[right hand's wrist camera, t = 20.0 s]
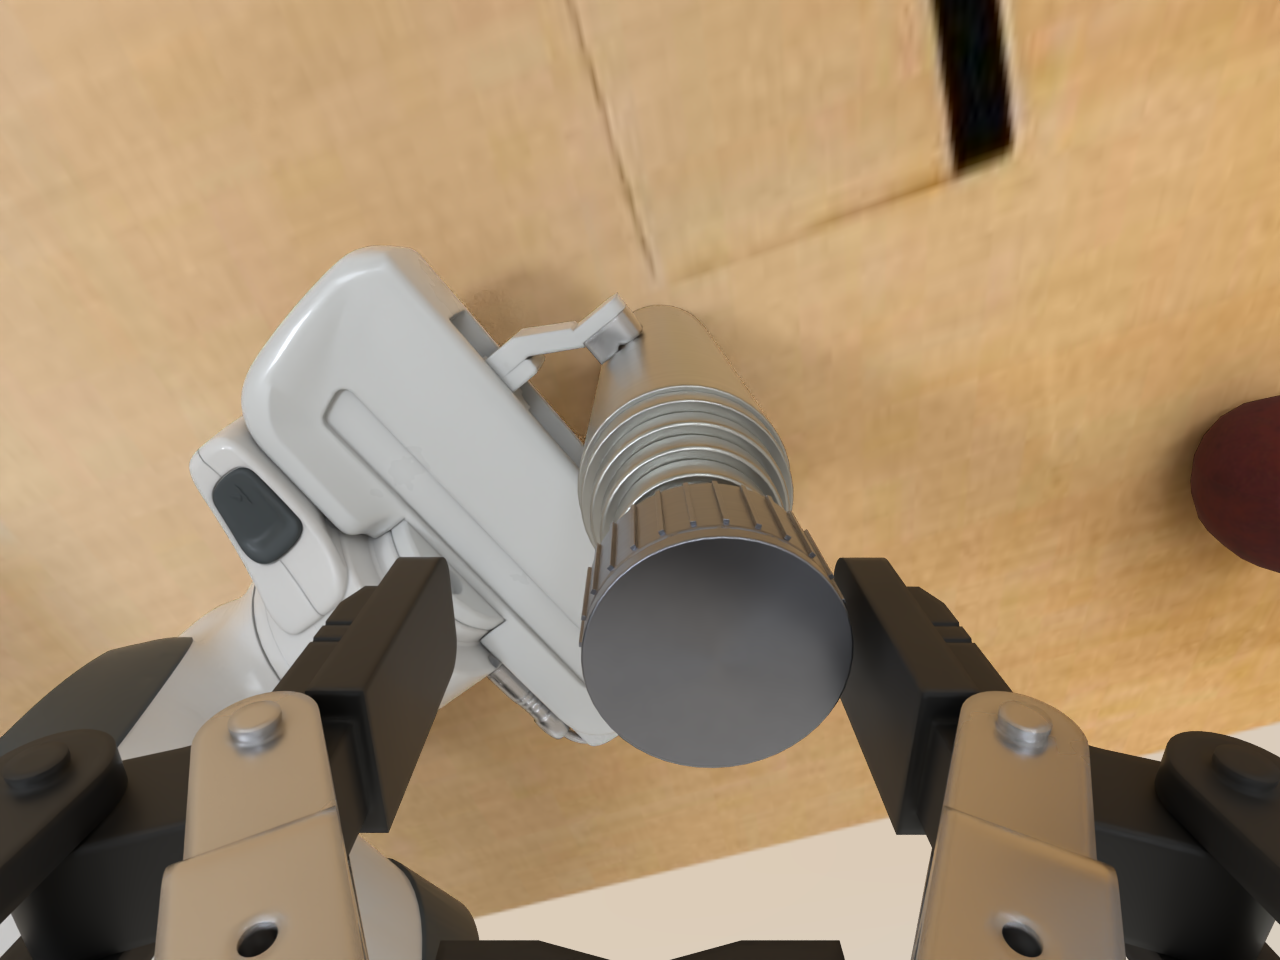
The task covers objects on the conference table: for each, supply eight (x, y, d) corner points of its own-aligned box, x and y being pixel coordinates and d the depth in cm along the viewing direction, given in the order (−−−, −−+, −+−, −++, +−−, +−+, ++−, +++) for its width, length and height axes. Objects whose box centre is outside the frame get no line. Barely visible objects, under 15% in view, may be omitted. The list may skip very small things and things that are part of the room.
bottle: (580, 363, 31) (477, 642, 10) (658, 280, 30) (718, 409, 9) (660, 437, 32) (708, 817, 12) (738, 360, 31) (947, 633, 10)
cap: (858, 623, 12) (902, 700, 10) (660, 719, 13) (665, 809, 11) (753, 433, 11) (781, 480, 9) (540, 551, 12) (522, 618, 10)
